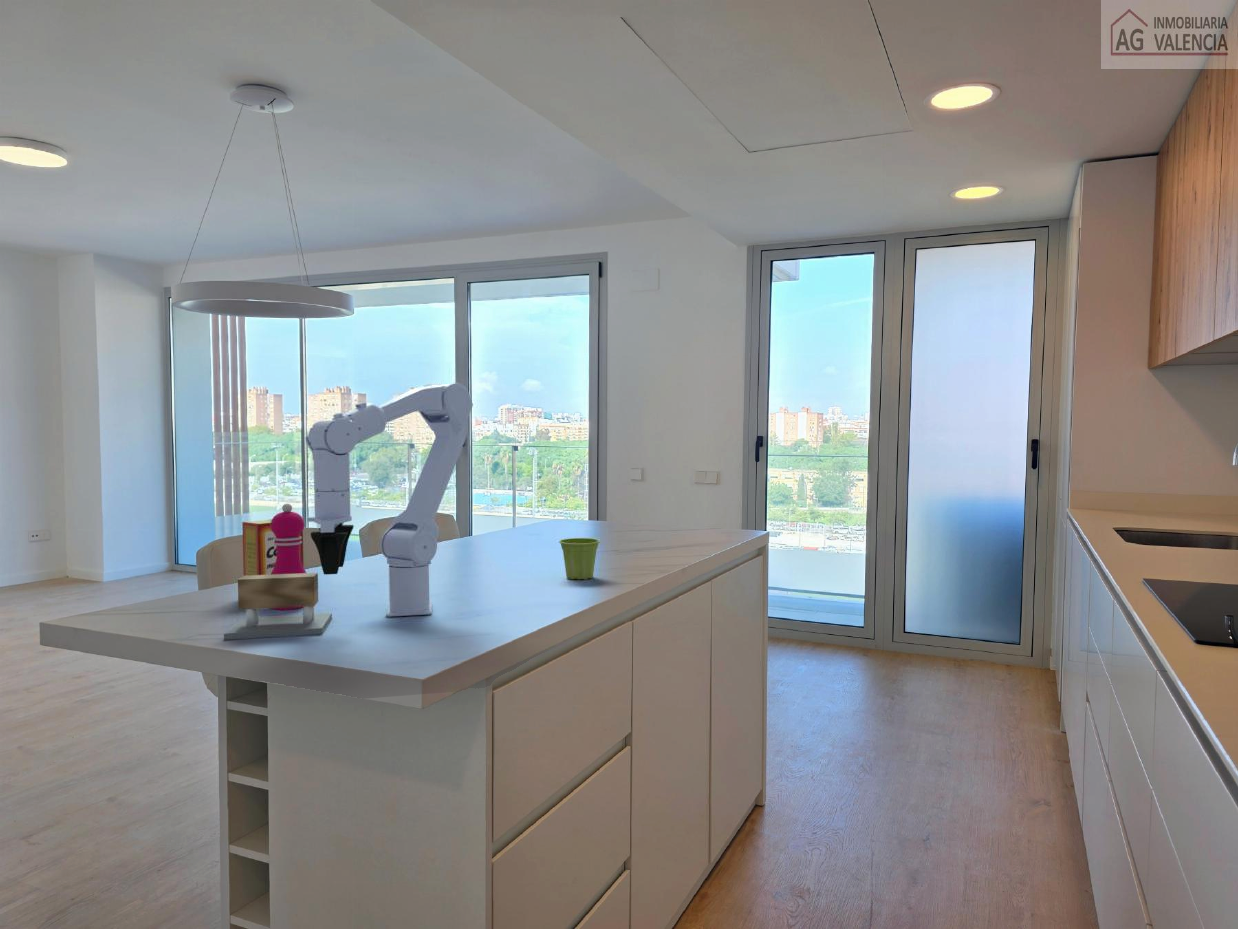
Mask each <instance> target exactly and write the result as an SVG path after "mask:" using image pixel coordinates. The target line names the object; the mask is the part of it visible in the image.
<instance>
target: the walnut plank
mask: <svg viewBox="0 0 1238 929" xmlns="http://www.w3.org/2000/svg"><path fill="white" fill-rule="evenodd" d="M237 600H238V603H237V605H238V606H237V607H238V610H246V609H258V610H260V609H273V608H280V607H301V606H314V607H315V606H316V605H317V604H318V602H319V573H318V572H306V573H299V574H274V575H249V576H241V577H239V578H237Z"/></svg>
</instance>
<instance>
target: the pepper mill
mask: <svg viewBox="0 0 1238 929" xmlns="http://www.w3.org/2000/svg"><path fill="white" fill-rule="evenodd" d="M281 508H282V511H281V512H278V513H277V514H275V515H274V516H272V518H271V519H272V521H271V530H272V532H273V533H274V534H275V535H276V537H275V538H274V540H275V541H274V542H275V543H274V545H276V549H277V558H276V563H275V566H274V568H273V570H272V573H271V575H274V574H299V573H307V571H306V569H305V568H304V567H303V566H304V564H303V565H302V563H301V559H300V553H299V548H300V544H301V543H302V541H301V538H302V537H301V536H300V533H301V532H302V531H303V532H304V529H305V521H304V518H303V517H302V515H301V514H299V513H298V512H295V511H292V510H293V506H292V505H291V503H285V504H283V505H282V507H281ZM300 608H302V609H303V606H301V607H280V608H272V609H273V610H278V611H279V610H280V611H287V610H297V609H300Z"/></svg>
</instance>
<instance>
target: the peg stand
mask: <svg viewBox="0 0 1238 929" xmlns="http://www.w3.org/2000/svg"><path fill="white" fill-rule="evenodd" d="M332 619H333V613H332V612H324V613H323V612H322V613H320V612H319V613H315V606H303V607H302V614H301V613H300V614H286V615H268V616H267V615H265V616H259V609H245V617H241V618H240V619H239V620H238V621H236V622H235V623H234V624H233V625H232V626H231V627H230V628H228V629H227V630H226V631H225V632H224V633H223V640H224V641H227V640H243V639H259V638H260V639H262V638H276V637H277V638H278V637H279V638H281V637H282V638H283V637H296V636H297V637H298V636H312V635H313V636H317V635H323V634H324V633H325V631H326V629H327V627H328V626H329V625H330V622H331V620H332Z"/></svg>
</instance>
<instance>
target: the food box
mask: <svg viewBox="0 0 1238 929" xmlns="http://www.w3.org/2000/svg"><path fill="white" fill-rule="evenodd" d="M272 519H273V518H269V519H262V520H250V521H242V522H241V526H242V532H241V533H242V561H243V562H242V566H243V570H242V573H243V574H242V575H243V576H249V575H271V573H272V570H273V568H274V566H275V563H276V558H277V549H276V545H274V543H275V542H274V541H275V540H274V538H275V537H276V535H275V534H274V533H273V532H272V530H271V521H272ZM300 536H301V537H302V538H301V541H302V543H301V544H300V548H299V553H300V559H301V563H302V565H303V567H304V530H303V531H302V532H301V533H300ZM243 576H242V577H243Z"/></svg>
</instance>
